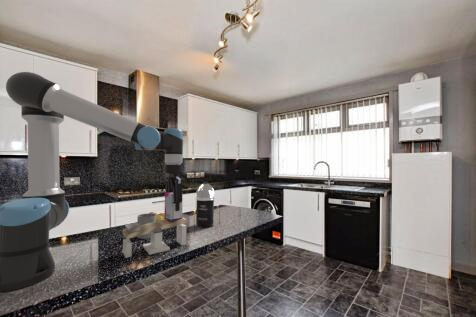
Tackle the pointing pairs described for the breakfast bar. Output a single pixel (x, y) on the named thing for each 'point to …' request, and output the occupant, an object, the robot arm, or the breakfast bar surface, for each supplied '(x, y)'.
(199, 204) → the spray bottle
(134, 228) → the beam
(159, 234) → the beam stand
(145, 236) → the cup
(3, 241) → the robot arm
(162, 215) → the bread roll
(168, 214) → the supplement box
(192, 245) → the breakfast bar surface
